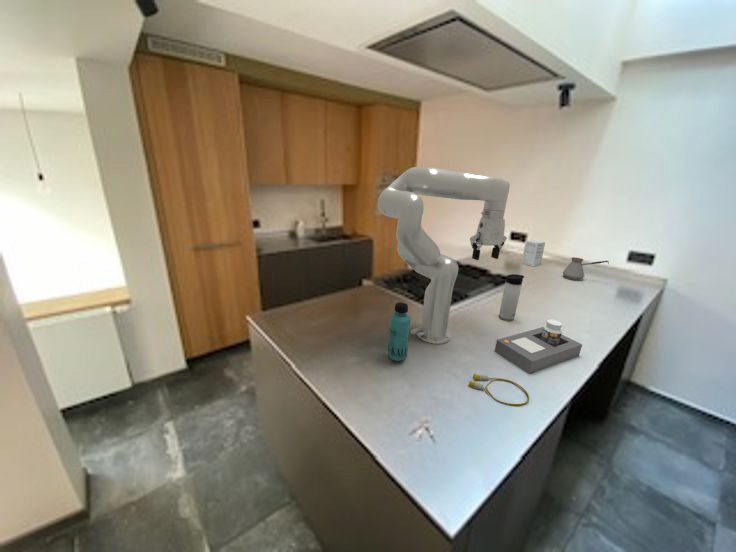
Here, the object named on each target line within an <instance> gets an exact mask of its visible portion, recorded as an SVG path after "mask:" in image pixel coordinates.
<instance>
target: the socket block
mask: <svg viewBox="0 0 736 552" xmlns="http://www.w3.org/2000/svg"><path fill="white" fill-rule="evenodd" d="M543 327H544V326H543ZM543 327H542V326H541V327H537V328H535V329H531V330H528V331H523V332H519V333H516V334H513V335H508V336H506V337H502V338H497V339H496V341H495V346H494V352H496V353H497V354H499V355H500V356H502V357H503V358H505V359H506V360H508V361H509V362H511V363H512V364H514V365H516V366H517V367H518V368H520V369H522V370H523V371H525V372H526V373H528V374H532V373H535V372H538V371H540V370H543V369H546V368H549V367H551V366H554V365H557V364H560V363H563V362H565V361H567V360H570V359H573V358H576V357H578V356H580V355H581V354H580V353H581V350H582V347H583V343H580V342H578V341H576V340H574V339H572V338H571V337H567V336H565V335H564V334H561V337H560V341H559V344H558V346H556V347H553V346H551V345H549V344H548V343H546V342H544V341H542V340H540V339H541V335H542V331H543Z"/></svg>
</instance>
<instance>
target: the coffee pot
mask: <svg viewBox="0 0 736 552" xmlns="http://www.w3.org/2000/svg"><path fill="white" fill-rule="evenodd" d="M570 259H571V261H570V263H569V264H568V265H567V266H566V267H565V269H563V271H562V274H563V276H564V278H565V279H568V280H570V281H580V280H582V279H584V277H585V272H584V268H583V266H586V265H587V266H588V265H596V264H597V265H598V264H602V263H607V264H610V262H609V260H603V261H602V260H601V261H594V262H587V263H583V261H584V259H583V258H581V257H574V256H573V257H571V258H570Z"/></svg>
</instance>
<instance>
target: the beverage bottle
mask: <svg viewBox="0 0 736 552" xmlns="http://www.w3.org/2000/svg"><path fill="white" fill-rule="evenodd" d="M408 310H409V305H408V304H407V303H405V302H397V303H395V305H394V312H393V313H392V314H391V315H390V322H389V323H390V324H389V333H388V343H387V356H388V357H389V358H390V360H392V361H397V362H398V361H404V360H405V359H406V358H407V355H408V348H409V347H408V346H409V341H410V340H409V336H410V335H409V334H410V324H411V316H410V315H409V313H408V312H409V311H408Z"/></svg>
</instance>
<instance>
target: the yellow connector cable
mask: <svg viewBox="0 0 736 552" xmlns="http://www.w3.org/2000/svg"><path fill="white" fill-rule="evenodd" d="M472 377H473V380H474V381H472V380H469V382H468V387H469V388H472V389H476V390H478V391H479V390H480V391H484V392H485V393H486V395H487V396H488V397H489V398H491V397H492V398H493V400H494V401H496V402H498V403H500V404H503V405H506V406H511V407H522V406H525V405H526V404H528V403H529V401H530V395H529V393H528V392H527V390H526V388H524V387H523V386H522V385H520V384H518V383H516V382H515V381H513V380H510V379H506V378H499V377H498V378H497V377H489V376H488V375H483V374H476V373H474V374H473V375H472ZM489 380H491V381H489ZM485 381H489V382H488V383H487V384H486V385H485V386H484V384H481V382H485ZM496 381H503V382H505V381H506V382H507V383H508V382H509V383H511V384H513V385H514V386H515V387H517V388H518V389H520V390H521V391H522V392H523V393H524V394H525V395H526V397H527V400H526V401H525V402H520V403H510V402H505V401H501V400H499V399H497V398H496V397H494V395H493V394H492V393H491V392H490V391H489V389H488V386H489V385H490V384H492V383H493V382H496ZM479 382H480V383H479Z"/></svg>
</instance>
